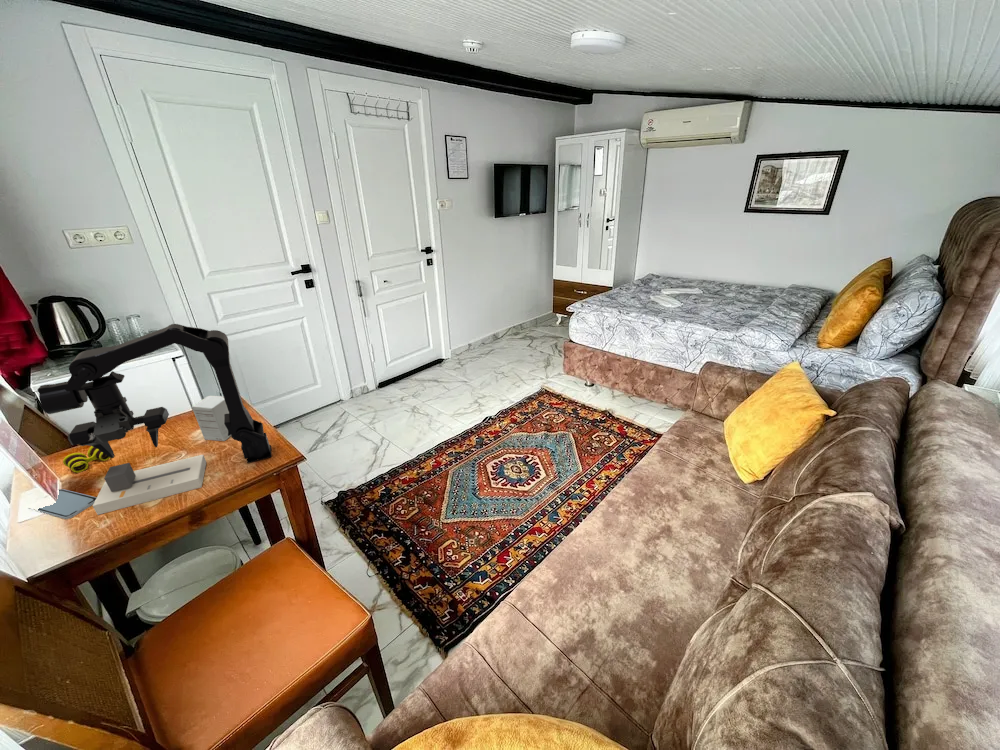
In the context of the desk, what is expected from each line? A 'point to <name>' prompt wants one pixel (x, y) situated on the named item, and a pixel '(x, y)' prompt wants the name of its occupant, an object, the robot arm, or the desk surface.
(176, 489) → the block
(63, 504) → the smartphone
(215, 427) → the supplement box
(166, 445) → the desk surface
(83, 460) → the opera glasses
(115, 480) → the block
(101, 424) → the robot arm
